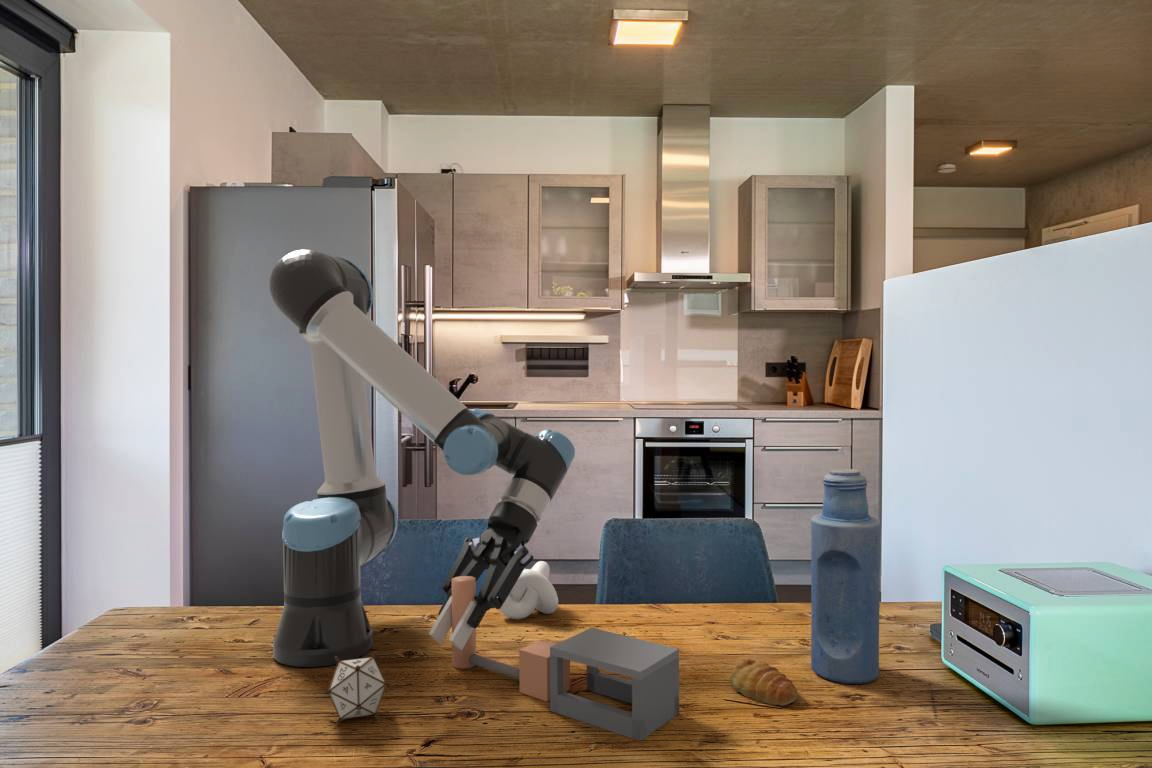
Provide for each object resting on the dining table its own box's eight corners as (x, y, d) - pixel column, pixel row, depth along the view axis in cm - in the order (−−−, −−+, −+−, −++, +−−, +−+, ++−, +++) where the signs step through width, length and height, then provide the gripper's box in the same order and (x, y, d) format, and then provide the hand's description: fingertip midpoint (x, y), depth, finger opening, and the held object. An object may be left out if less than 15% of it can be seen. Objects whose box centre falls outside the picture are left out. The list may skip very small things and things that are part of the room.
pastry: (809, 700, 107) (809, 673, 107) (776, 714, 103) (776, 685, 103) (756, 678, 115) (756, 652, 115) (723, 690, 111) (723, 663, 111)
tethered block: (443, 666, 119) (443, 580, 119) (467, 656, 123) (467, 573, 123) (547, 701, 107) (546, 606, 107) (570, 689, 111) (569, 597, 110)
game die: (365, 751, 101) (367, 710, 95) (307, 722, 103) (306, 679, 97) (401, 694, 108) (406, 651, 102) (347, 667, 110) (349, 624, 104)
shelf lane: (550, 710, 104) (549, 647, 104) (591, 687, 112) (591, 627, 111) (640, 741, 96) (640, 671, 95) (678, 713, 103) (678, 648, 103)
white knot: (503, 601, 152) (502, 555, 151) (565, 603, 150) (564, 557, 150) (488, 620, 140) (488, 570, 140) (555, 623, 139) (554, 573, 139)
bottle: (885, 668, 118) (887, 468, 117) (871, 691, 110) (872, 476, 109) (821, 655, 123) (822, 463, 122) (802, 676, 115) (803, 471, 114)
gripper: (568, 532, 127) (499, 666, 114) (492, 520, 137) (420, 642, 124) (547, 504, 122) (473, 641, 110) (470, 493, 132) (393, 617, 120)
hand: (445, 641), depth 117 cm, fingers closed on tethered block, 4 cm apart
